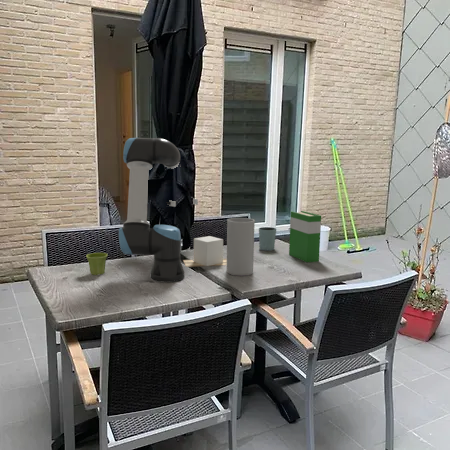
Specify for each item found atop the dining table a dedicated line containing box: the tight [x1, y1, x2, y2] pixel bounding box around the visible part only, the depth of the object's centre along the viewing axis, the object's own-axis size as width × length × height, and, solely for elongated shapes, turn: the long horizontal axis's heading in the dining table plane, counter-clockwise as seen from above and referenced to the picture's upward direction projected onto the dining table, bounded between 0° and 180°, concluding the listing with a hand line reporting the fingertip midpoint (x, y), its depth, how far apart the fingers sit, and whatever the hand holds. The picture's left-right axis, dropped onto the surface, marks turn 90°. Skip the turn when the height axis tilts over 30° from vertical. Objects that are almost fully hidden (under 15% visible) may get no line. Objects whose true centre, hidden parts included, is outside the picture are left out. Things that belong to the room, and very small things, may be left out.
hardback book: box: [288, 210, 322, 263], centre depth 240 cm, size 18×7×24 cm, turn 23°
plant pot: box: [85, 252, 108, 276], centre depth 206 cm, size 9×9×9 cm
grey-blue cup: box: [258, 226, 277, 251], centre depth 261 cm, size 10×10×12 cm
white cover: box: [193, 235, 224, 267], centre depth 226 cm, size 10×10×12 cm
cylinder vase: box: [226, 217, 256, 277], centre depth 210 cm, size 12×12×25 cm
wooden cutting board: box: [182, 258, 227, 268], centre depth 227 cm, size 13×24×1 cm, turn 101°
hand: (186, 202), depth 226 cm, fingers open, 13 cm apart
